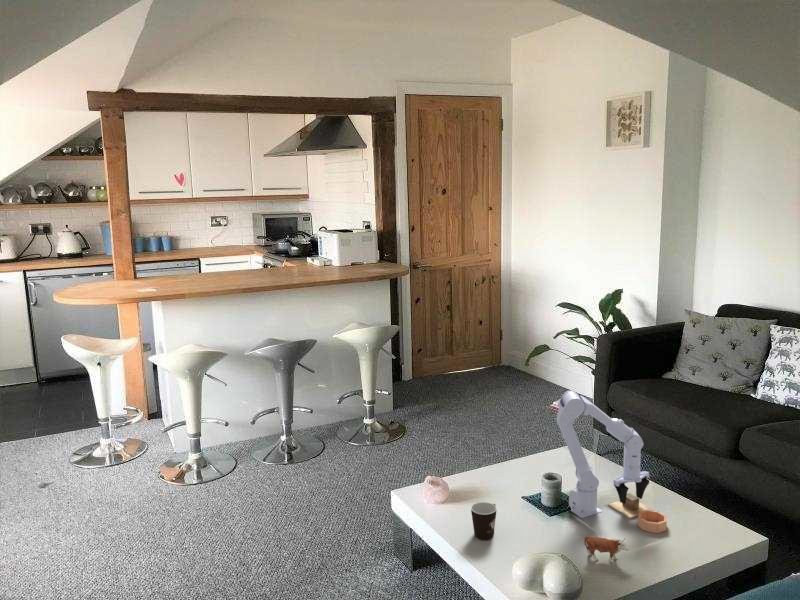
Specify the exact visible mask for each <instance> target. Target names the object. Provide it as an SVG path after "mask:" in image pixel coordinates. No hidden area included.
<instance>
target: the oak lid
mask: <svg viewBox="0 0 800 600" xmlns="http://www.w3.org/2000/svg"><path fill="white" fill-rule="evenodd" d="M607 504H608V506H609V507H611V508H612V509H614V510H615V511H617V512H619V513H620V514H622V515H623V516H625V517H627V518H628V519H632V518H636V517H638V514H639V512H641V511H645V510H652V511H655V510H654V509H652V508H651V507H648V506H647V505H646V504H644V503H642V502H640V498H638V497H637V496H635V495H633V494H632V493H628V492H627V495H626V503H625V504H623V503H622V502H620V500H617V501H615V502H611V503H607Z"/></svg>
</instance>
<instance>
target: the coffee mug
mask: <svg viewBox="0 0 800 600" xmlns="http://www.w3.org/2000/svg"><path fill="white" fill-rule="evenodd" d="M497 510H498V508H497V505H496V504H495V503H492V502H488V501H478V502H476V503H473V504H472V505H471V506H470V512H471V519H472V520H471V521H472V525H473V526H472V527H473V534H474V537H475V538H476V539H477V540H479V541H489V540H492V539H493V538H494V534H495V528H496V527H495V525H496V516H497Z"/></svg>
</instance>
